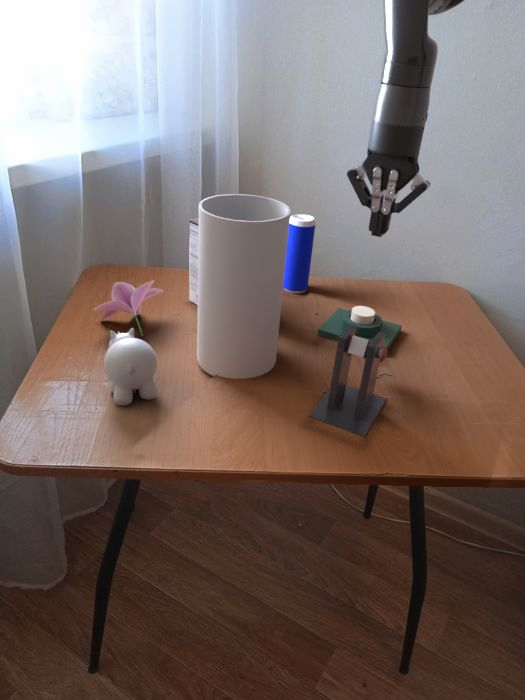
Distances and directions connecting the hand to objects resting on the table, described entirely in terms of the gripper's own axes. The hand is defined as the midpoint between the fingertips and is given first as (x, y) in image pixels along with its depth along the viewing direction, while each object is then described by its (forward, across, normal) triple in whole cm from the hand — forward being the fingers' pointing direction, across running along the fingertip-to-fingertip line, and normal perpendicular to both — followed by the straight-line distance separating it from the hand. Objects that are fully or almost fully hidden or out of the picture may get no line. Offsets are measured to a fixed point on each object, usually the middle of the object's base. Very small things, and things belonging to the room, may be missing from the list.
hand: (377, 234), depth 89 cm
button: (+15, 0, 0) cm, 15 cm away
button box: (+19, 0, 0) cm, 19 cm away
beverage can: (+19, -18, +12) cm, 29 cm away
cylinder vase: (+19, -14, -19) cm, 30 cm away
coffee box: (+19, -28, -2) cm, 34 cm away
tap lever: (+12, +6, -18) cm, 23 cm away
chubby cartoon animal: (+19, -24, -33) cm, 45 cm away
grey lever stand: (+19, +6, -22) cm, 30 cm away
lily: (+19, -35, -19) cm, 44 cm away
